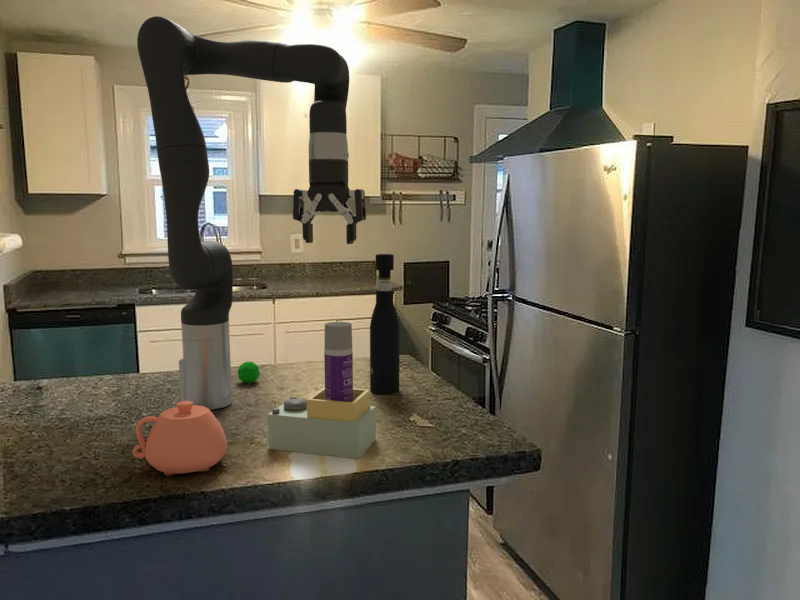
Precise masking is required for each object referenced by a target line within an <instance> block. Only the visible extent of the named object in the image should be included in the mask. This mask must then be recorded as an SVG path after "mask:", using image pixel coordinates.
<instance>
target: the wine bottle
mask: <svg viewBox="0 0 800 600" xmlns="http://www.w3.org/2000/svg"><path fill="white" fill-rule="evenodd" d="M394 261H395V259H394V254H391V253H379V254H377V253H376V254H375V271H378V280H379V281H377V283H376V285H377V287H376V288H377V289H376V290H375V305H374V308H373V311H372V314H371V318H370V325H369V387H370V388H369V390H370V393H372V394H375V395H379V396H387V395H388V396H389V395H395V394H398V393H400V321H399V317H398V313H397V309H396V307H395V303H394V290H393V282H392V281H390V280H391V279H392V278H391V271H394V267H395V266H394V264H395V263H394Z"/></svg>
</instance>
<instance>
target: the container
mask: <svg viewBox="0 0 800 600" xmlns="http://www.w3.org/2000/svg"><path fill="white" fill-rule="evenodd" d="M352 325H353V324H352V323H350V322H346V321H331V322H326V323H325V324H324V349H323V350H324V351H323V352H324V355H323V356H324V357H323V358H324V387H325V400H331V401H342V402H353V388H354V386H353V385H354V382H353V381H354V380H353V379H354V374H353V373H354V372H353V371H354V370H353V369H354V366H353V365H354V361H353V359H354V358H353V357H354V356H353V355H354V354H353V332H352V330H353V328H352Z"/></svg>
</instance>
